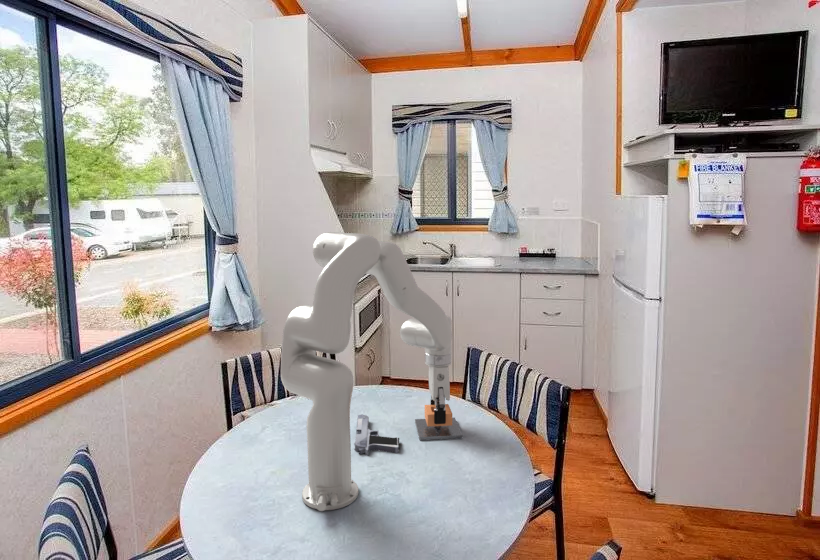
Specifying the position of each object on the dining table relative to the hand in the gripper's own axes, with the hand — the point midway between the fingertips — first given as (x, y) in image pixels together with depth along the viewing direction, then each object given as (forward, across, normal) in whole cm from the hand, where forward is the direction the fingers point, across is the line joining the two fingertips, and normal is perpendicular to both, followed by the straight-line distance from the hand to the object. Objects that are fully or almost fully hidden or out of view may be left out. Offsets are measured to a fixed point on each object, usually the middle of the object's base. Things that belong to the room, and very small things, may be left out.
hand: (437, 417), depth 153 cm
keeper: (+4, 0, 0) cm, 4 cm away
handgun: (+5, -2, +18) cm, 18 cm away
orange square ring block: (+1, 0, 0) cm, 1 cm away
